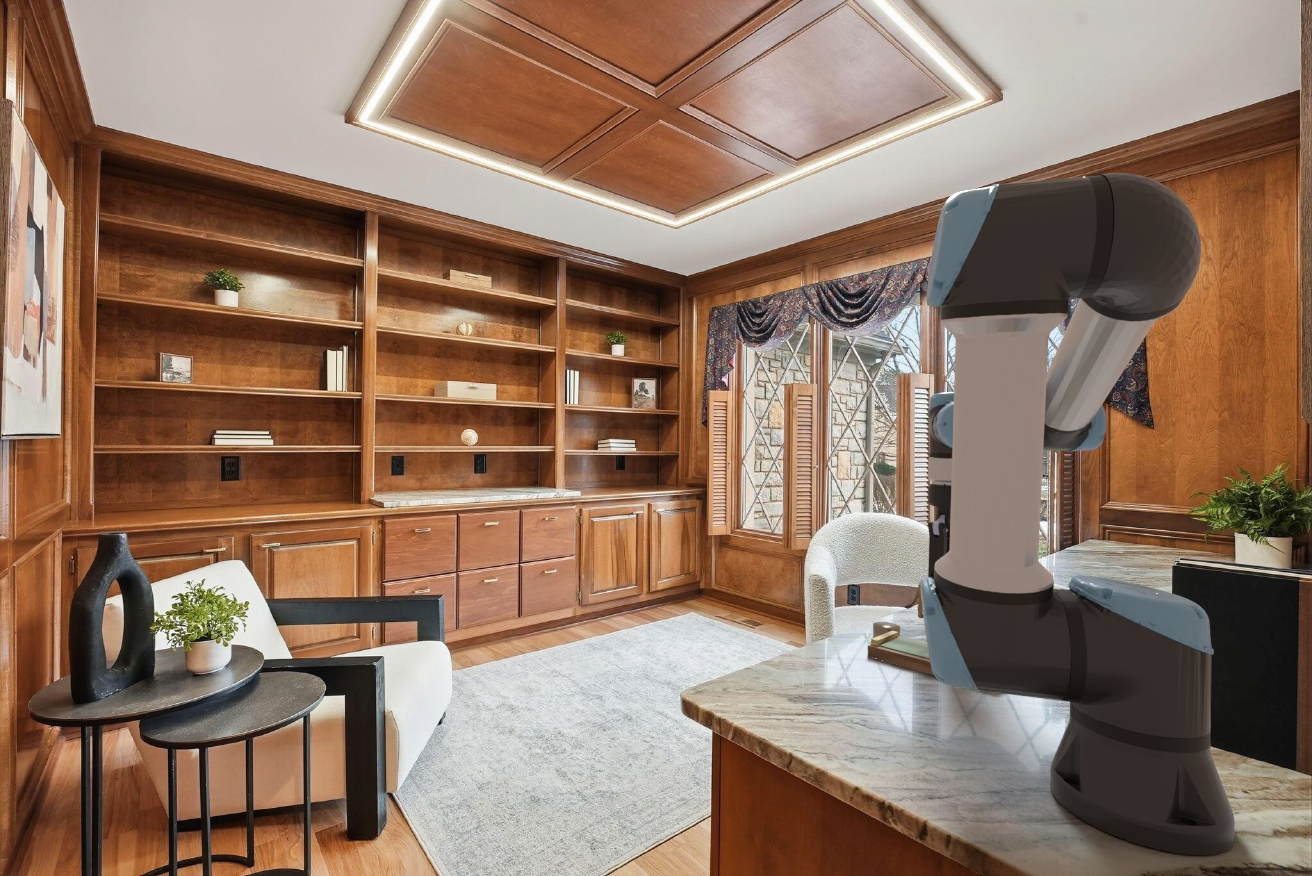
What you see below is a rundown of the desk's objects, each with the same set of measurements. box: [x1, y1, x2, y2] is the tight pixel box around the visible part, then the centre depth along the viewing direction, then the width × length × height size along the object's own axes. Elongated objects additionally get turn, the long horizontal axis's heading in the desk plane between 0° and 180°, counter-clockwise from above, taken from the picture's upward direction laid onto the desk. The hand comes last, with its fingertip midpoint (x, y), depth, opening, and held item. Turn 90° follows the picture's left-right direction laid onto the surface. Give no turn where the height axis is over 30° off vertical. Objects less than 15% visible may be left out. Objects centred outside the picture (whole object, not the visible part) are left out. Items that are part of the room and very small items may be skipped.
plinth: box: [867, 631, 935, 676], centre depth 108 cm, size 10×21×3 cm, turn 43°
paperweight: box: [872, 621, 901, 638], centre depth 122 cm, size 5×5×3 cm
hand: (950, 619), depth 106 cm, fingers closed on lion figurine, 5 cm apart
